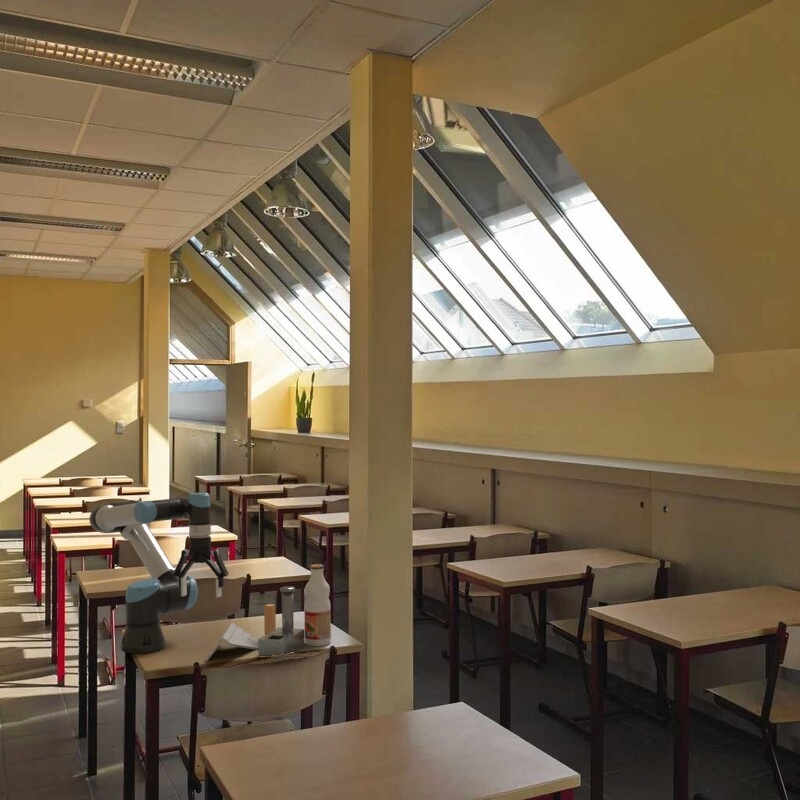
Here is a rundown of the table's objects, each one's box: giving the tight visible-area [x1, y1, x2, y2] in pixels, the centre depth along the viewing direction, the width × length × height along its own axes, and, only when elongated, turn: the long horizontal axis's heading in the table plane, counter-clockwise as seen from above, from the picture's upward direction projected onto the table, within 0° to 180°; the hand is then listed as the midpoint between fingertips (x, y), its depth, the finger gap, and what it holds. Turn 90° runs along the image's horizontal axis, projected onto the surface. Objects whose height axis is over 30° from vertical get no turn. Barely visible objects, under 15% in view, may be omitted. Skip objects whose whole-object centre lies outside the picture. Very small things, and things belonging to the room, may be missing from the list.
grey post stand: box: [257, 586, 306, 656], centre depth 288 cm, size 10×16×21 cm, turn 162°
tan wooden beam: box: [263, 603, 277, 636], centre depth 301 cm, size 3×3×13 cm
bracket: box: [204, 622, 258, 662], centre depth 287 cm, size 13×10×20 cm
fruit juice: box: [303, 563, 332, 647], centre depth 298 cm, size 9×9×28 cm
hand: (201, 596), depth 294 cm, fingers open, 13 cm apart
